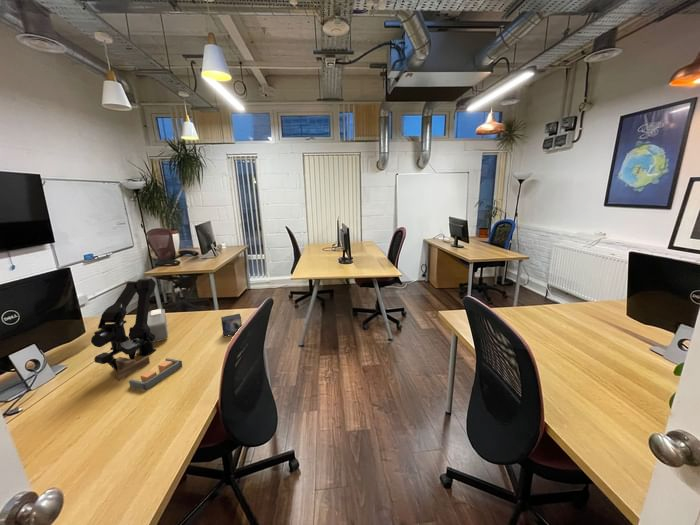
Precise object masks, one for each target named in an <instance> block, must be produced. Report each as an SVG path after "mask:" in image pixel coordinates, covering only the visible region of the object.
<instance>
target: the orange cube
mask: <svg viewBox="0 0 700 525" xmlns="http://www.w3.org/2000/svg"><path fill="white" fill-rule="evenodd" d="M172 365H173V362H171V361H165V360H164V361H163V362H160V364H157V367H158V372H159V373H161V372H162V371H164V370H165V369H167V368H169V367H170V366H172Z"/></svg>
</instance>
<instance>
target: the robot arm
mask: <svg viewBox="0 0 700 525" xmlns="http://www.w3.org/2000/svg"><path fill="white" fill-rule="evenodd" d="M156 287H157V286H156V281H155V280H154V279H153V278H139V279H138V280H136V281H128V282H127V283H126V285H125V288H124V289H123V290H122V292H121V293H120V295H119V296H118V297H117V299H116V301H115V302H114V303H113V304H111V305H110V306H108V307H107V308H106V309H105V310H104V311H103V312H102V314H101V317H100V319H99V324H98V326H97V329H98V330H96V331H93V332H94V333H93V334H94V335H93V336H92V337H91V340H90V341H91V342H90V343H91V344H92V345H93V346H94V347H96V348H103V347H104V346H105V345H107V344H108V343H110V345H111V347H110V350H111V351H110V352H101V353H100V354H97V355H95V356H94V358H93V361H94V363H96V364H100V365H105V364H107V365H109V366H110V367H111V368H112V369H113V370H114V371H115V372H119V370H118V368H117V364H116V358H115V355H117V354H120V353H123V354H124V355H127V356H128V357H129V358H128V359H133V360H135V358H136V356H141V357H146V356H148V355H150V354H152V353H153V352H155V351H157V348H154V347H153V343H154V342H153V341H154V340H155V335H154V334H152V333H150V328H149V326H148V324H147V320H148V312H150V311H149V309H150V300H151V299H150V298H151V296H152V294H153V293H154V292H155V288H156ZM136 294H137V297H138V298H137V304H136V305H137V306H136V314H135V322H134V324H133V326H131V327H130V328H129V332H128V335H127V334H126V329H125V324H126V323H127V320H124V319H125V318H126V315H127V307H128V306H129V305H130V303H131V301H132V300H133V298H134V296H135V295H136ZM152 342H153V343H152ZM137 351H138V352H137Z"/></svg>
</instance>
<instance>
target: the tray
mask: <svg viewBox="0 0 700 525" xmlns="http://www.w3.org/2000/svg"><path fill="white" fill-rule="evenodd" d="M164 361H171V362H173V365H172V366H170V367H169V368H167V369H165V370H164V371H162V372H161V373H160V372H159V373H158V374H157V375H156V376H154V377H153V378H151V379H150V380H148V381H146V382H142V381H140V380H137V379H132V378H131V379H129V380H128V384H129V387H130V388H134V389H136V390H142V391H147V390H149V389H150V388H152V387H154V386H155V385H157V384H158V383H159V382H161V381H162V380H165V378H167V377H169V376H170V375H172V374H174V373H175V372H176V371H178V370H179V369H181V368H182V367H183V362H182V360H179V359H175V358H169V357H168V358H167V357H166V358H165V359H164Z"/></svg>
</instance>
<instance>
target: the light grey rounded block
mask: <svg viewBox="0 0 700 525" xmlns="http://www.w3.org/2000/svg"><path fill="white" fill-rule="evenodd" d="M165 310H166V309H164V308H162V309H161V308H157V309H153V310H150V311H148V320H147V324H148V326H149V328H150V333H152V334H154V335H155V340H154V341H153V343H156V342H155V341H157V342H160V341H159V340H161V341H163V340H162V339H165V340H167V339H168V337H169V335H168V334H169V333H168V332H169V331H168V322H167V315H166V311H165ZM166 338H167V339H166Z"/></svg>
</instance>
